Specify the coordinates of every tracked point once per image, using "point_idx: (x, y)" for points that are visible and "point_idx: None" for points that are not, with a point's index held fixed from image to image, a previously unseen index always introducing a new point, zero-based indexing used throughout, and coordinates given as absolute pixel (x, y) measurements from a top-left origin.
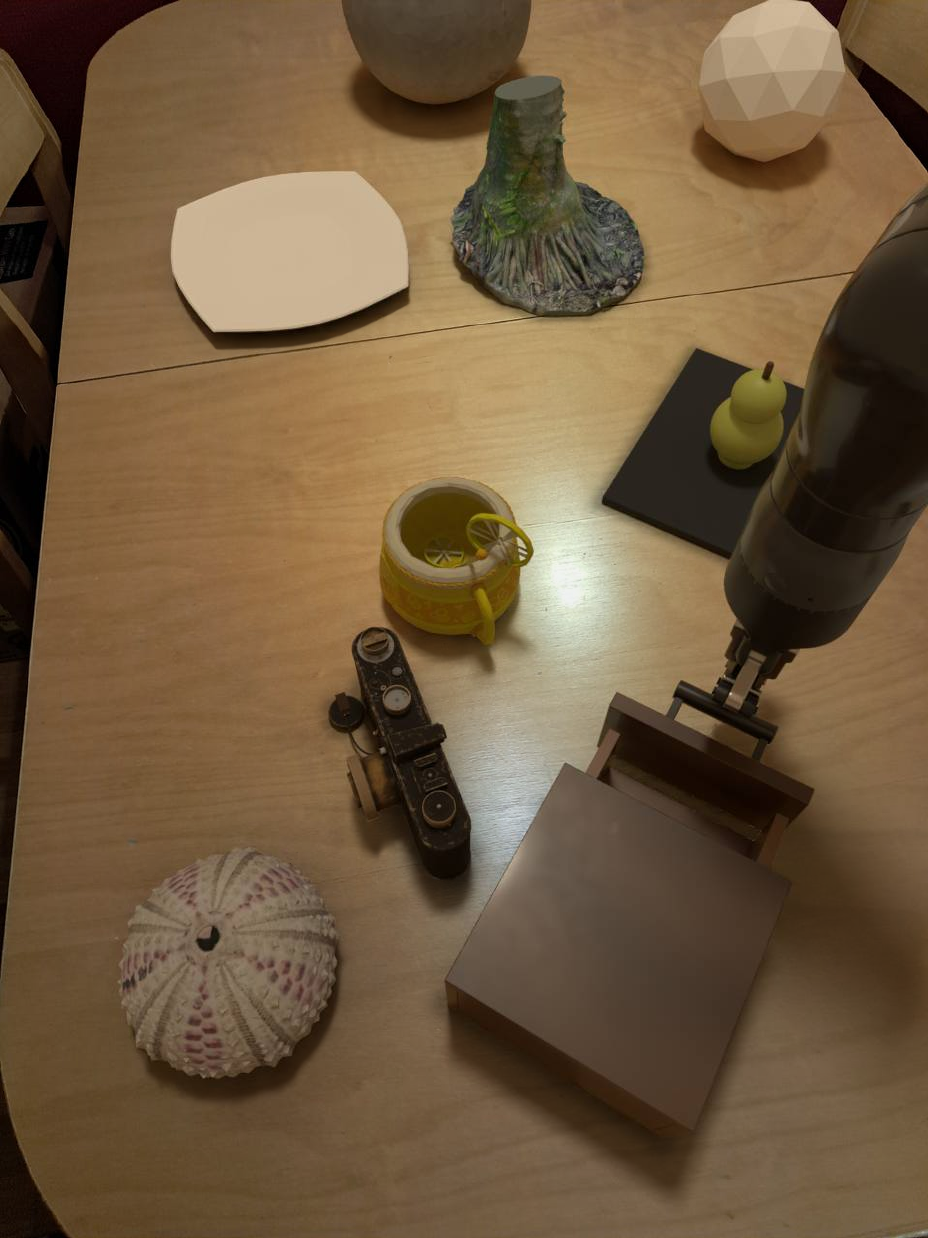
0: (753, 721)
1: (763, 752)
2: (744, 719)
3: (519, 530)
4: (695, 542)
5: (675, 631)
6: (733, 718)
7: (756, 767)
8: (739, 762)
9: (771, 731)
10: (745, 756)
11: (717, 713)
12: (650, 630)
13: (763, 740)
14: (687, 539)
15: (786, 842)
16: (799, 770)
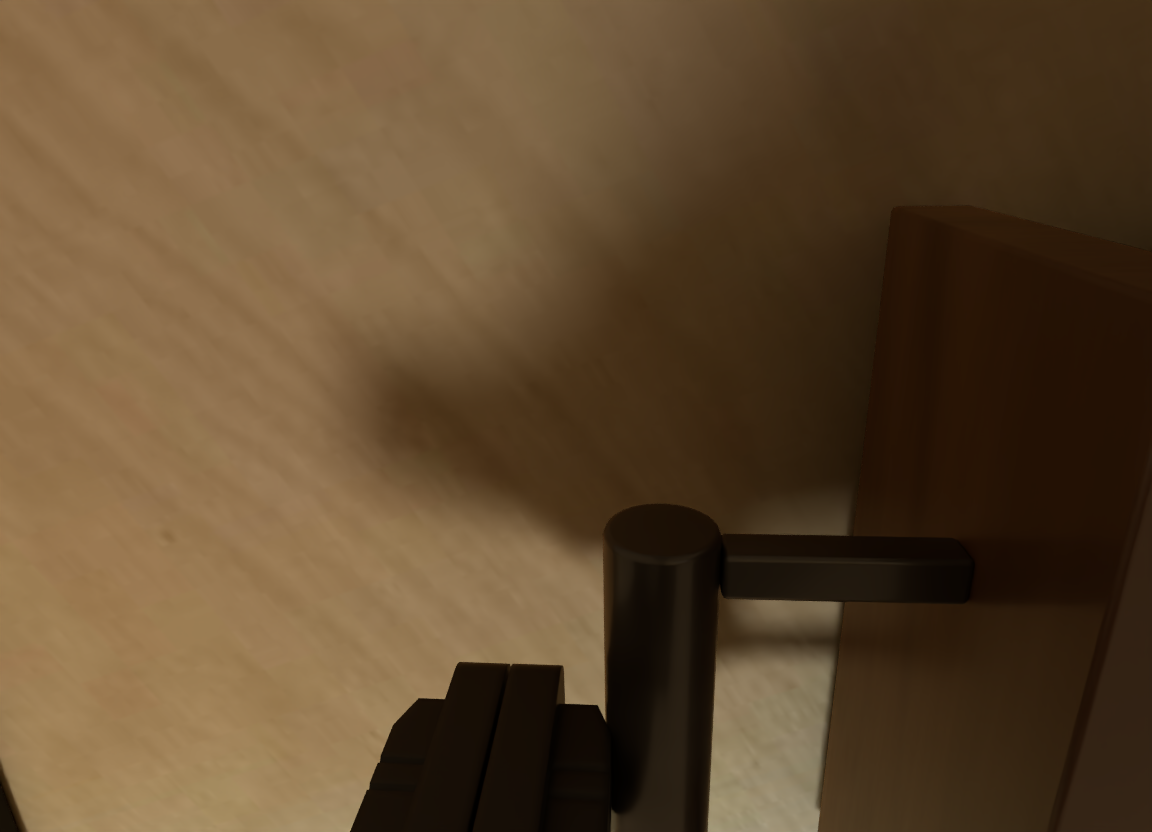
0: (668, 677)
1: (805, 559)
2: (680, 715)
3: None
4: (6, 813)
5: (328, 760)
6: (695, 748)
7: (1137, 726)
8: (1131, 815)
9: (680, 586)
10: (1070, 797)
11: (702, 806)
12: None
13: (735, 582)
14: (16, 829)
15: (919, 150)
16: (580, 220)
